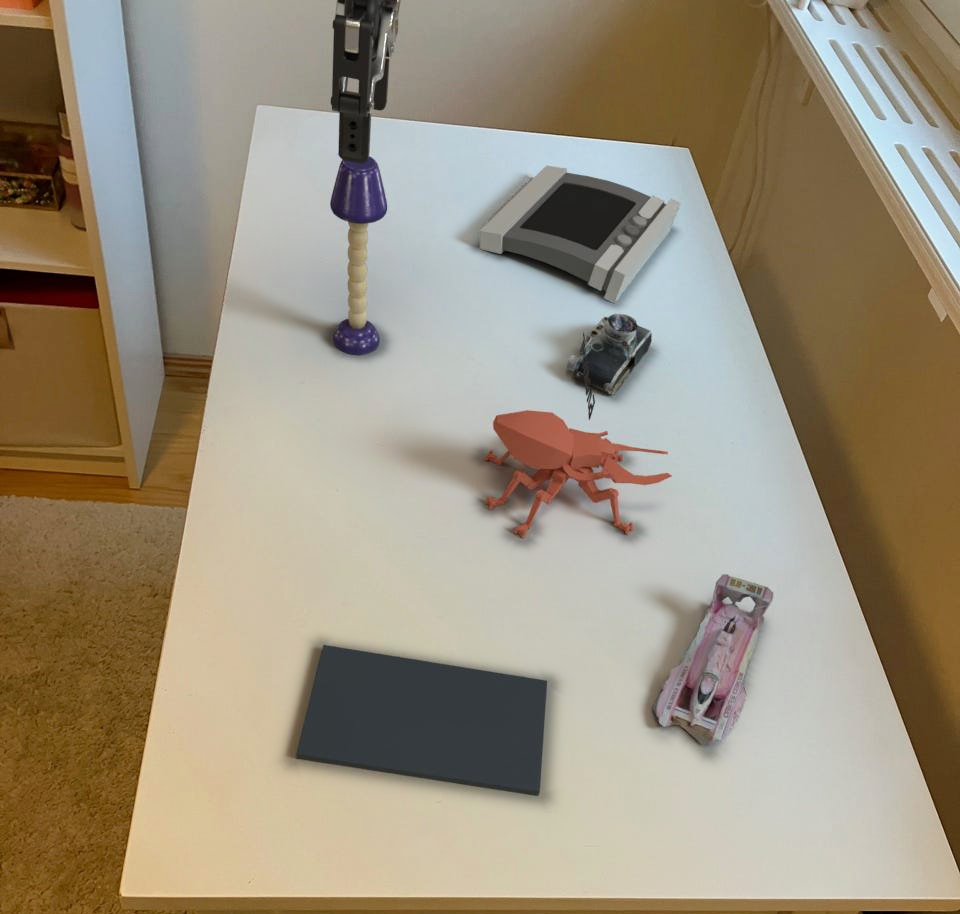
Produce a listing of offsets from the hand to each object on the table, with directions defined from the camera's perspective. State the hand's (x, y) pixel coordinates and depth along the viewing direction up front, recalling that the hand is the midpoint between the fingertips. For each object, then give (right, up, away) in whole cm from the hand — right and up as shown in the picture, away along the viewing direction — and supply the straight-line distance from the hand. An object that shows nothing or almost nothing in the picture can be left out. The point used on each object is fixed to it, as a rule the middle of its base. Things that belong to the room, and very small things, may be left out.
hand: (363, 132), depth 77 cm
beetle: (+17, -27, +7) cm, 32 cm away
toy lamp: (-3, -12, +15) cm, 19 cm away
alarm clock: (+19, +4, +31) cm, 37 cm away
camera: (+21, -13, +18) cm, 31 cm away
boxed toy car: (+26, -42, -3) cm, 49 cm away
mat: (+5, -45, -9) cm, 46 cm away
